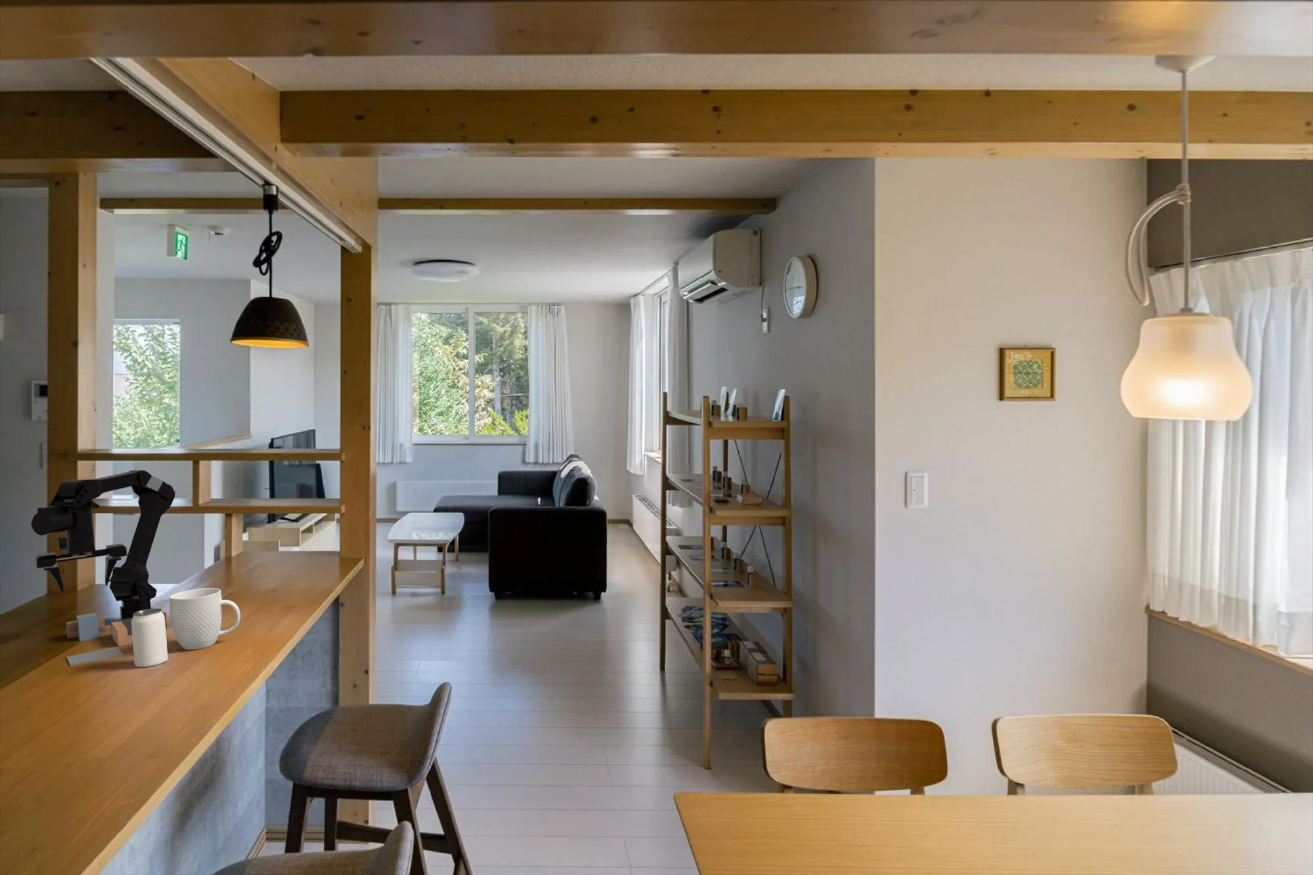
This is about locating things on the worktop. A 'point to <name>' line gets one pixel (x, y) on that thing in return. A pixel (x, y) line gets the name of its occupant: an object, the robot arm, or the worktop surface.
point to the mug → (199, 617)
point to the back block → (73, 629)
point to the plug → (87, 626)
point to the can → (149, 638)
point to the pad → (94, 656)
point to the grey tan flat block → (124, 630)
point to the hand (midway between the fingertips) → (84, 588)
